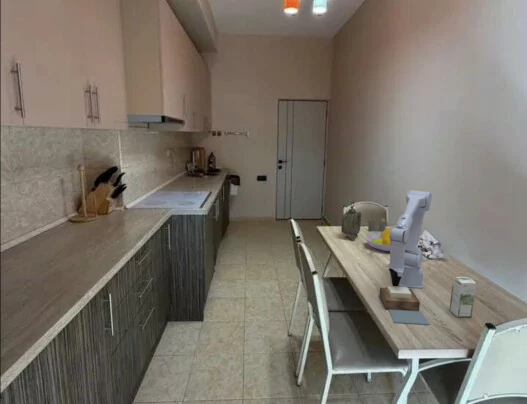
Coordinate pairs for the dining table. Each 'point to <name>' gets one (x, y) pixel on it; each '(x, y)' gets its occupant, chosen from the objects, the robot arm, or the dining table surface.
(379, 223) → the architectural model on board
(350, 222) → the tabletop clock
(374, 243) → the fruit bowl
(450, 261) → the dining table surface
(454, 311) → the syrup box
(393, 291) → the tile
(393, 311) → the mat
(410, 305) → the block
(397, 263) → the robot arm
